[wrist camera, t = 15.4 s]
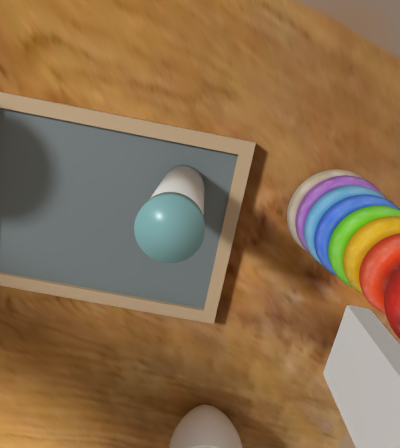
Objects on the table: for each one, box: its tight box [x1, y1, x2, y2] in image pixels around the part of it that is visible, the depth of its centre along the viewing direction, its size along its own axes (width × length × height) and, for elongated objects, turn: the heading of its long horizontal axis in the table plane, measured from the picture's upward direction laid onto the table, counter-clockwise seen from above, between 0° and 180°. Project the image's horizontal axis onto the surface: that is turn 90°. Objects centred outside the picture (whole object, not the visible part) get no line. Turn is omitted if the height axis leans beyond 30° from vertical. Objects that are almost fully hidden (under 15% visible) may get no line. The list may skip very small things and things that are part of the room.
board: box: [0, 91, 256, 324], centre depth 33 cm, size 22×17×1 cm
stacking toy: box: [287, 169, 400, 338], centre depth 24 cm, size 8×8×19 cm
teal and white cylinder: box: [134, 165, 205, 263], centre depth 25 cm, size 4×4×12 cm
